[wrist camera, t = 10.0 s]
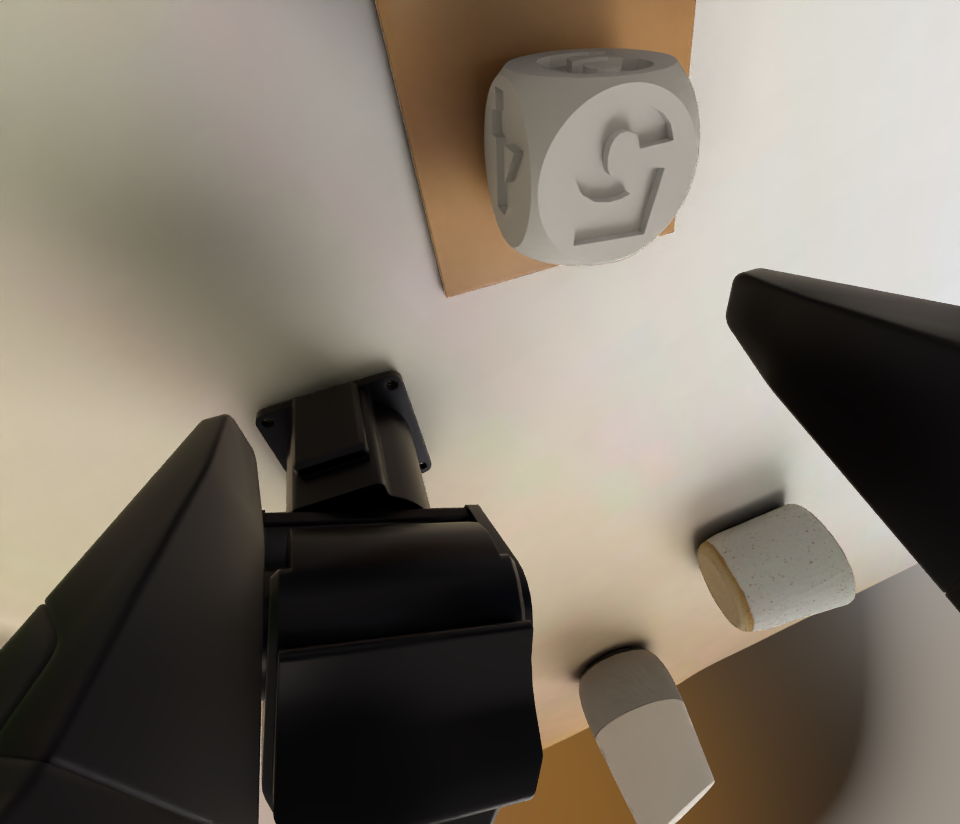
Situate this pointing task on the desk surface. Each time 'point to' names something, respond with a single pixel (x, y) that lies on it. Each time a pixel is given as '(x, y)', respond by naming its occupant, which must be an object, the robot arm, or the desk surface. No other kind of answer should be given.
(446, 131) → the coaster
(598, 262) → the die
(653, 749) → the smart speaker
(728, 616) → the ceramic mug
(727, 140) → the desk surface
